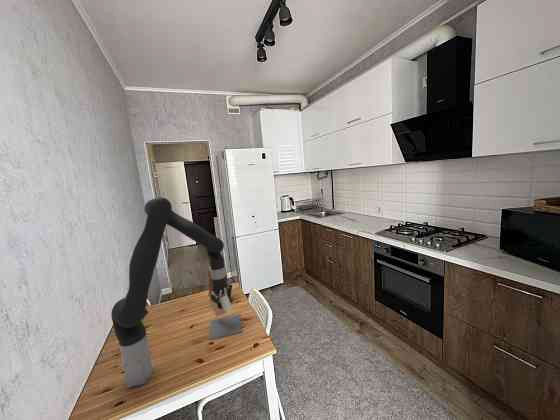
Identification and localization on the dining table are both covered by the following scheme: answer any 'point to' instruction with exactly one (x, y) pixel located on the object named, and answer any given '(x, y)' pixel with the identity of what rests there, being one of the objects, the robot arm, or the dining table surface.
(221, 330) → the mat
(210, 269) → the butternut squash
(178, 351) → the dining table surface
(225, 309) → the block
